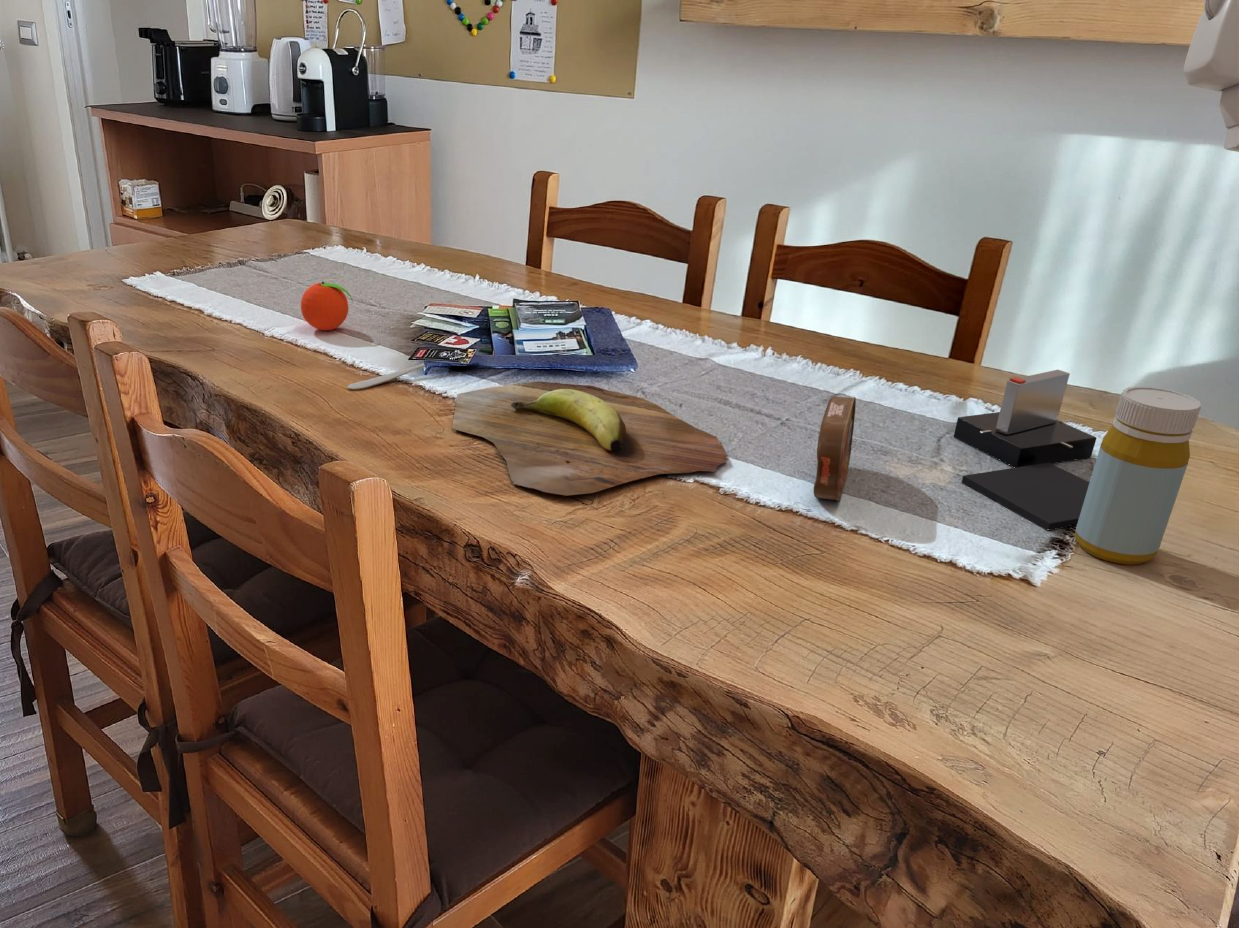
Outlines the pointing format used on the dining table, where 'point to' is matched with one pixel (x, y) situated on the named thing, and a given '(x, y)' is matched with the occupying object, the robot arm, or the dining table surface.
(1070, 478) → the mat
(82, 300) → the dining table surface
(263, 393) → the dining table surface
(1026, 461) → the base
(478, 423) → the cutting board
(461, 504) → the dining table surface
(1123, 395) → the bottle
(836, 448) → the tin
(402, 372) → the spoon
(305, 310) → the clementine
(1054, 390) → the tap lever
